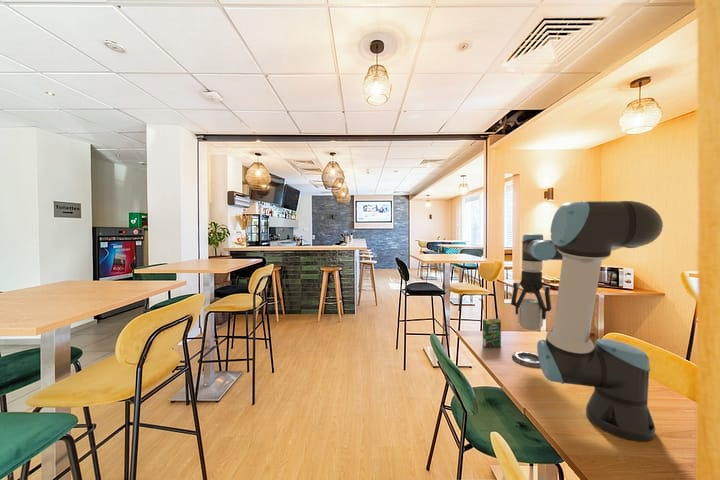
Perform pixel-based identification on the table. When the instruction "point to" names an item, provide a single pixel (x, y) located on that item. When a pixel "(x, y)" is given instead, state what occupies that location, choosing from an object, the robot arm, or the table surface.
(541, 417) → the table surface
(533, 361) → the flange socket
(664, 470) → the table surface
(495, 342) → the coffee box
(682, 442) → the table surface
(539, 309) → the can
